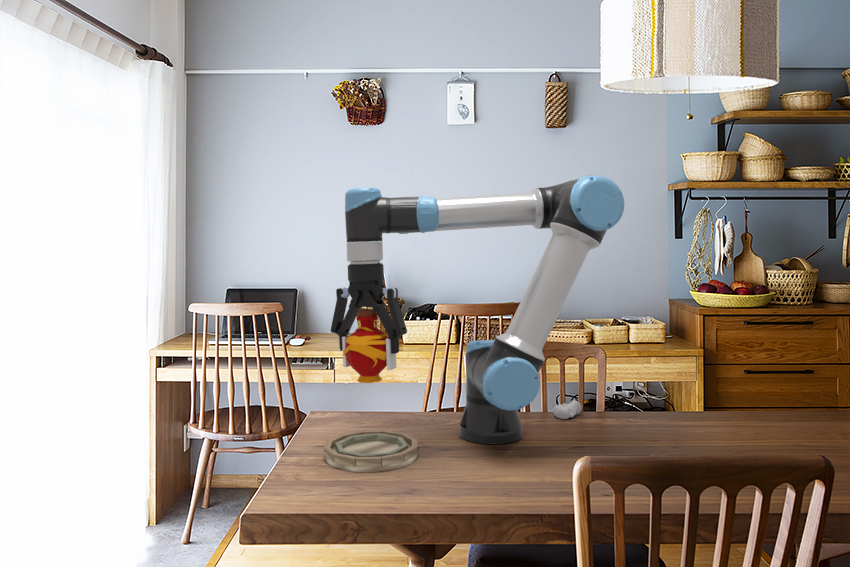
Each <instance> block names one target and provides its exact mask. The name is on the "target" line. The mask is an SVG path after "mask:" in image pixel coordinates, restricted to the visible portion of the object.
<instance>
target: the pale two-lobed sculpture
mask: <svg viewBox="0 0 850 567" xmlns="http://www.w3.org/2000/svg"><path fill="white" fill-rule="evenodd" d="M552 411H553V416H555V417H556V418H558V419H560V420H568V419H570V418H574V417H575V416H578V415H579V414H581V412H582V404H581V403H580V402H579V401H577V400H575V399H573V400H571V401H570V402H569V403H565V402H564V403H561V404H556V405H555V406H553V409H552Z"/></svg>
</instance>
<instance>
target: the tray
mask: <svg viewBox="0 0 850 567" xmlns="http://www.w3.org/2000/svg"><path fill="white" fill-rule="evenodd" d="M418 448H419V447H418V439H417V438H416V437H414V436H412V435H410V434H408V433H405V432H400V431H394V430H387V429H380V430H379V429H377V430H374V429H373V430H358V431H351V432H347V433H342V434H339V435H337V436H334V437H332V438H330V439H328V440H327V441H326V442H325V444H324V447H323V456H324V458H325V462H326V463H327V464H328V465H329V466H330V467H332V468H335V469H338V470H341V471H346V472H352V473H354V472H355V473H380V472H381V473H382V472H389V471H394V470H397V469H398V470H399V469H401V468H404V467H407V466H409V465H412V464H413V463H414V462H415V461H416V460H417V459H418V455H419V454H418V451H419V450H418Z"/></svg>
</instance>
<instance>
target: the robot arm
mask: <svg viewBox="0 0 850 567" xmlns="http://www.w3.org/2000/svg"><path fill="white" fill-rule="evenodd" d="M344 197H345V198H344V210H345V211H344V219H345V233H346V235H345V236H346V260H347V262H349V264H348V265H347V280H348V283H349V284H348V287H347V288H346V287H340V288H337V289H336V290H335V292H336V293H335V295H336V300H335V307H334V311H333V312H334V313H333V317H332V321H331V325H330V326H331V327H330V332H331V333H333V334H336V335H338V338H339V340H338V341H339V342H338V344H339V350H340V351H341V352H342V363H343V364H342V366H343V368H348V367H351V365H350V364H349V363H348V361H347V359H346V355H344V352H343V351H344V350H345V346H346V340H347V338H348V337H349V336H350V335H351V332H350V331H351V329H352V327H353V325H354V322H355V320H356V319H357V316H358V312H357V310H361V308H363V307H366V308H371V309H373V310H374V311H376V315H377V317H378V318H379V321H380V323H381V324H382V326H383V328H384V330H385V332H386V333H387V335H388V336H387V337H388V338H387V339H386V358H387V366H386V370H387V371H392V370H394V369H397V354H399V352H400V337H401V336H404V335H406V334H407V333H408V330H407V326H406V323H405V320H404V315H403V311H402V310H401V309H402V308H401V305H400V301H399V293H398V292H399V290H398V288H397V287H392V288H389V287H388V288H387V287H385V285H384V280H385V272H384V268H385V267H384V264H383V263H382V262H381V261H383V260H384V251H383V250H384V249H383V234H401V235H408V234H415V233H417V234H418V233H421V234H425V233H431V232H432V233H433V232H441V231H442V232H444V231H456V230H472V229H473V230H474V229H487V228H488V229H489V228H490V229H491V228H504V227H519V226H520V227H521V226H532V227H533V228H534V229H536V230H538V229H540V230H541V229H550V230H551V233H552V235H551V237H550V240H549V241H548V243H547V246H546V247H545V250H544V252H543V254H542V256H541V258H540V260H539V262H538V265H537V267H536V268H535V271H534V273H533V275H532V277H531V279H530V281H529V283H528V286H527V287H526V290H525V292H524V294H523V295H522V298H521V299H520V302H519V304H518V307H517V308H516V310H515V313H514V315H513V316H512V319H511V321H510V323H509V326H508V328H507V329H506V331H505V332H504V333H502V334H500V335H497V336H496V337H495V339H484V340H479V339H478V340H470V341H469V342H467V343H466V347H465V348H466V350H465V354H464V356H465V372H466V373H465V377H466V378H465V381H466V383H465V385H466V386H465V387H466V388H465V389H466V390H465V391H466V394H465V395H466V397H465V398H466V399H465V400H466V401H465V402H466V403H465V406H464V410H463V412H462V416H461V419H460V423H459V424H458V425H459V427H458V428H459V430H458V432H459V434H458V435H459V437H460V438H462V439H463V440H465V441H468V442H471V443H477V444H482V445H483V444H484V445H485V444H486V445H502V444H510V443H514V442H517V441H519V440H521V439H522V438H523V434H524V433H523V430H524V429H523V425H522V421H521V418H520V415H519V411H518V410H521V409H523V408H525V407H527V406H528V405H531V403H532V402H534V399H535V398H536V396H538V393H539V391H540V376H539V375H540V371H541V370H542V367H543V364H544V363H545V361H546V359H545V356H544V352H543V349H544V346H545V344H546V342H547V341H548V338H549V336H550V333H551V331H552V330H553V327H554V326H555V323H556V321H557V319H558V317H559V315H560V312H561V311H562V308H563V307H564V304H565V302H566V300H567V298H568V296H569V294H570V292H571V290H572V287H573V286H574V284H575V282H576V279H577V277H578V275H579V274H580V270H581V268H582V267H583V264H584V263H585V260H586V258H587V256H588V254H589V252H590V251H591V250H593V249H596V248H598V247H600V245H601V244H602V241H603V240H604V238H605V234H606V233H607V231H608V230H610V229H612V228H614V227H615V226H616V225H617V224H618V222H619V221H621V218H622V217H623V214H624V211H625V199H624V196H623V192H622V190H621V189H620V187H619V186H618V184H617V183H616V182H615V181H613V180H612V179H611V178H609V177H606V176H603V175H592V174H591V175H585V176H582V177H581V178H578V179H573V180H568V181H566V182H563V183H558V184H554V185H551V186H546V187H534V188H533V189H532V190H531V191H530V192H522V193H519V192H518V193H505V194H502V193H501V194H489V195H473V196H472V195H470V196H458V197H457V196H456V197H454V196H453V197H441V198H439V197H438V198H436V197H434V196H423V195H420V196H399V197H384V196H382V194H381V189H379V188H376V187H355V188H350V189H348V190H347V191H346V192H345V194H344ZM349 296H350V298H351V301H350V302H349V305H348V299H349ZM383 297H385V299H386V301H387V305H386V303H385V301H384V299H383ZM347 305H348V310H347V312H346V309H347ZM386 306H388V308H389V311H388V310H387V309H388V308H386ZM389 312H390V313H389Z"/></svg>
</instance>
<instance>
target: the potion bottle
mask: <svg viewBox="0 0 850 567" xmlns="http://www.w3.org/2000/svg"><path fill="white" fill-rule="evenodd" d="M357 312H358V314H357V316H356V321H359V322H360V326H359V327H357V328H356V329H355V331H354V332H352V333H350V334H349V335H350V336H349V337H348V338H347V340H346V346H345V350H344V351H342V353H343V352H344V355H346V359H347V361H348V363H349V364H350V365H351V366H350V367H351V368H352V369H353V370H354V371H355V372H356V373H358V375H359V376H358V378H357V382H359V383H361V384H372V383H378V382H380V381H383V379H382V377H381V376H380V373H381V372H383V370H384V369H386V368H387V358H386V339H387V338H388V337H389V335H388V334H387V332H386V331H382V330H380V329H378V328H377V327H375V321H377V320H378V318H379V317H378V315H377V313H376V311H374V310H373V308H364V309H360V310H357Z"/></svg>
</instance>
